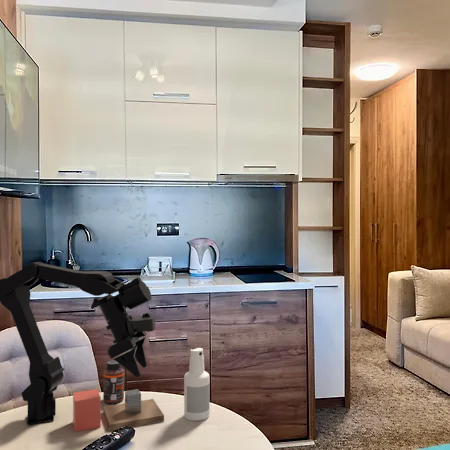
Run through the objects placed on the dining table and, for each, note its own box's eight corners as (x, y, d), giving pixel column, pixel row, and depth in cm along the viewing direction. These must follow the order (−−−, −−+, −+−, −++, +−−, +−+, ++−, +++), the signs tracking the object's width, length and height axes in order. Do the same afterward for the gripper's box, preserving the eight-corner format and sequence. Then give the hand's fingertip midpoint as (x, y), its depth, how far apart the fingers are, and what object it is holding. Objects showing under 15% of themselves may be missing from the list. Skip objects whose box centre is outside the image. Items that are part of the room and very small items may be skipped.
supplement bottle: (118, 405, 127) (118, 365, 127) (99, 403, 128) (99, 364, 128) (127, 397, 133) (127, 359, 133) (109, 395, 134) (108, 358, 134)
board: (109, 430, 111) (109, 424, 111) (103, 412, 122) (103, 406, 122) (164, 420, 116) (164, 415, 116) (153, 404, 127) (153, 398, 127)
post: (127, 414, 117) (127, 395, 117) (125, 409, 120) (125, 391, 120) (141, 412, 118) (141, 393, 118) (138, 407, 121) (138, 389, 121)
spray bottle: (194, 423, 114) (194, 354, 115) (179, 415, 120) (179, 349, 120) (214, 416, 119) (214, 349, 119) (199, 408, 124) (199, 344, 124)
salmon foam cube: (75, 431, 110) (75, 401, 110) (73, 421, 116) (73, 392, 116) (100, 427, 113) (100, 397, 113) (97, 417, 118) (97, 389, 118)
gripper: (137, 307, 106) (165, 366, 105) (150, 299, 125) (174, 349, 124) (95, 328, 106) (123, 387, 105) (115, 316, 125) (138, 367, 124)
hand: (142, 371), depth 114 cm, fingers open, 9 cm apart
